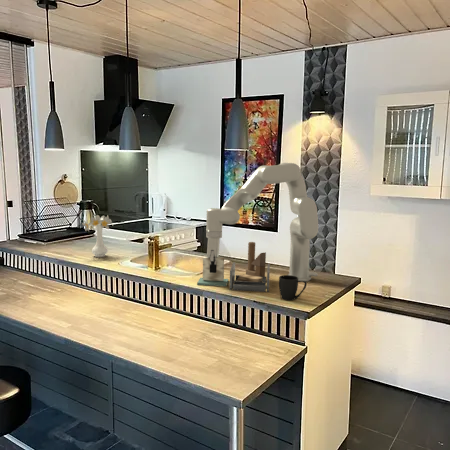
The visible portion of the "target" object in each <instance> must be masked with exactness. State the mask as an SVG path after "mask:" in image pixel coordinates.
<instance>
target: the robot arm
mask: <svg viewBox="0 0 450 450" xmlns="http://www.w3.org/2000/svg"><path fill="white" fill-rule="evenodd" d="M301 173H302V171H301V168H300V166H299V165H298V164H296V163H294V162H293V163H292V162H281V163H279V164H277V165H276V164H275V165H261V166H258V167H257V168H256V170H255V171H254V172H253V173H252V174H251V176H249V178H248V179H247V180H246V181H245V183H244V184H243V185H242V186H241V188H239V189H238V190H237V191H236V192H235V193H234V194H233V195H232V196H231V197H230V198H229V199H228V200H227V201H226V202H225V203H224V204H223V206H222V207H221V208H217V207H216V208H215V207H214V208H213V207H211V208H207V210H206V227H205V228H206V229H205V230H206V231H205V233H206V236H205V237H206V238H207V246H206V247H207V249H206V257H207V258H209V257H210V273H216V267H217V265H216V258H217V257H219V255H220V239H222V238H223V224H225V225H236V224H237V223H238V222H239V220H240V218H241V217H240V213H239V210H240V209H241V208H242V207H243V206H244V205H246V204H248V203H250V202H252V201H254V200H255V199H256V198H257V197H258V195H260V193H261V192H262V191H263V190H264V189H265V187H266V186H267V185H274V184H282V183H286V185H287V188H288V194H289V196H288V197H289V207H290V210H291V212H292V213H293V214H294V215H297V217H294V218H293V219H292V221H290V226H289V233H290V249H289V250H290V251H289V253H290V254H289V255H290V256H289V272H288V274H287V275H292V276H296V277H298V281H300V280H301V281H306V282H310V281H312V277H318V275H319V274H318V272H315V271H310V270H309V264H310V261H309V260H310V247H311V246H310V245H311V244H310V242H311V241H310V240H312V239H313V238H315V237H316V236H317V235H318V233H319V219H318V208H317V204H316V202H315V200H313V198H311V197H309V196H308V195H307V194H308V193H307V186H306V182H305V179H304V177H303V176H302V174H301ZM214 257H215V258H214Z"/></svg>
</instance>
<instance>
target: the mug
mask: <svg viewBox="0 0 450 450" xmlns="http://www.w3.org/2000/svg"><path fill="white" fill-rule="evenodd" d="M278 280H279V281H278V287H279V294H280V298H281V300H283V301H289V302H290V301H294V300H297V299H298V298H299V297H300V296H301V295H302V293H304V291H305V289H306V287H307V285H308V284H307V282H308V281H301V280H300V281H298V277H296V276H292V275H288V274H286V275H285V274H284V275H279V277H278ZM299 283H304V284H303V285H304V286H303V288H302V290H301V291H300V293H299V294H297V292H298V287H299Z"/></svg>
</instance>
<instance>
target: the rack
mask: <svg viewBox="0 0 450 450" xmlns="http://www.w3.org/2000/svg"><path fill="white" fill-rule="evenodd" d="M270 265H271V264H270V263H267V271H266V272H267V273H266V275H265V276H257V277H263V280H262V282H251V281H237V278H239V276H241V275H242V274H241V275H240V274H236V262H235V261H233V262H232V265H231V267H230V270H229V291H239V292H240V291H241V292H258V293H259V292H262V293H263V292H264V293H269V292H270V272H271V267H270Z"/></svg>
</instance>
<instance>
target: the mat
mask: <svg viewBox="0 0 450 450" xmlns="http://www.w3.org/2000/svg"><path fill="white" fill-rule="evenodd" d="M228 283H229V279H228V278H224V280H223V281H213V280H203V277H200V278H199V279H198V281H197V283H196V285H197V286H208V285H209V286H210V287H227V286H228Z"/></svg>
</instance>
